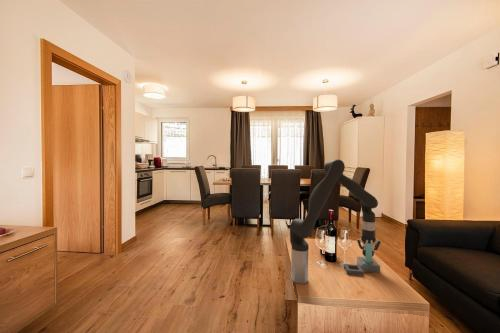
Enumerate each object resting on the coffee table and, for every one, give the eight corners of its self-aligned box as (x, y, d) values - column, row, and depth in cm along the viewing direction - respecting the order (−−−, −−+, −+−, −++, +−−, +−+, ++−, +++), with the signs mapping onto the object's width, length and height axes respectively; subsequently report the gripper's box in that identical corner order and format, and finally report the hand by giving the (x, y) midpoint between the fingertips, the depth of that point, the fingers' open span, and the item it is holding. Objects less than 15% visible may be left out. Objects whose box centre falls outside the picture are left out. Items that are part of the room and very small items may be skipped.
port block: (379, 273, 142) (380, 265, 142) (361, 271, 144) (362, 263, 144) (373, 265, 154) (373, 257, 154) (356, 263, 156) (357, 255, 156)
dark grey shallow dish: (363, 275, 138) (363, 271, 138) (347, 274, 140) (347, 270, 140) (359, 269, 147) (359, 265, 147) (344, 267, 149) (344, 263, 149)
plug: (371, 263, 147) (372, 243, 147) (365, 262, 147) (365, 243, 147) (370, 261, 150) (370, 241, 150) (363, 260, 151) (364, 241, 151)
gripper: (357, 229, 146) (357, 257, 146) (383, 230, 144) (382, 259, 144) (354, 226, 154) (354, 252, 154) (378, 227, 151) (378, 254, 151)
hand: (368, 255), depth 149 cm, fingers closed on plug, 3 cm apart
